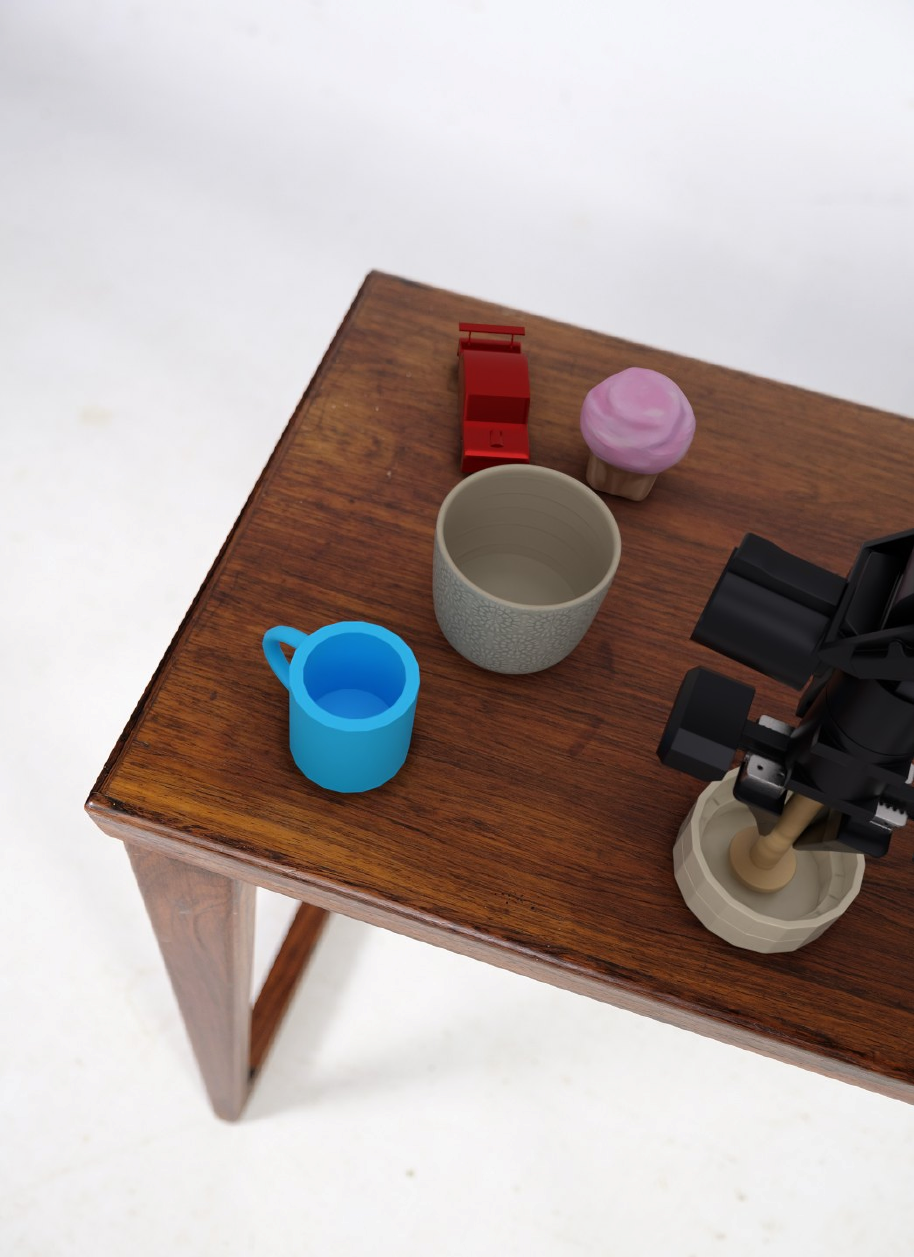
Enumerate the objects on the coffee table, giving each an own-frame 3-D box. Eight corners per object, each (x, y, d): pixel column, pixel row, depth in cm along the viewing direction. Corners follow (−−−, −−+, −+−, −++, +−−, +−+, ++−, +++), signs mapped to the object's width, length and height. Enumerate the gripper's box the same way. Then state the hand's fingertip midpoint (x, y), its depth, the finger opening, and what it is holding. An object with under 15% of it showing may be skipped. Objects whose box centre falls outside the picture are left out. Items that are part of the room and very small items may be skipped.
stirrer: (799, 847, 78) (863, 769, 69) (784, 905, 76) (848, 832, 67) (735, 820, 79) (791, 740, 70) (718, 877, 76) (773, 801, 68)
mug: (434, 737, 82) (446, 673, 75) (352, 816, 78) (358, 756, 71) (307, 635, 85) (309, 566, 79) (223, 706, 81) (217, 639, 75)
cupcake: (556, 503, 95) (581, 414, 87) (575, 428, 100) (600, 337, 92) (665, 531, 95) (700, 444, 87) (678, 454, 100) (712, 365, 92)
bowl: (849, 837, 81) (879, 804, 77) (814, 985, 75) (844, 958, 71) (697, 773, 83) (718, 738, 79) (649, 913, 76) (670, 883, 72)
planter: (621, 629, 89) (658, 537, 80) (514, 730, 83) (541, 643, 74) (497, 533, 93) (519, 435, 84) (386, 623, 87) (397, 528, 78)
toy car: (453, 357, 103) (460, 313, 99) (517, 362, 104) (526, 318, 100) (457, 480, 95) (465, 437, 91) (526, 483, 96) (536, 441, 92)
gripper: (1075, 658, 64) (946, 789, 77) (746, 532, 67) (674, 679, 80) (1053, 829, 58) (917, 941, 71) (692, 683, 61) (623, 817, 74)
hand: (780, 835), depth 74 cm, fingers closed on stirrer, 2 cm apart
